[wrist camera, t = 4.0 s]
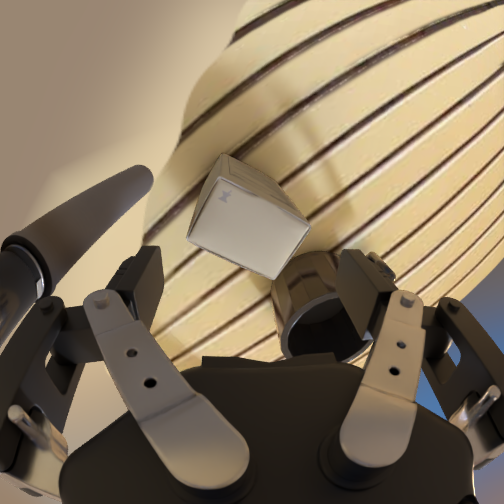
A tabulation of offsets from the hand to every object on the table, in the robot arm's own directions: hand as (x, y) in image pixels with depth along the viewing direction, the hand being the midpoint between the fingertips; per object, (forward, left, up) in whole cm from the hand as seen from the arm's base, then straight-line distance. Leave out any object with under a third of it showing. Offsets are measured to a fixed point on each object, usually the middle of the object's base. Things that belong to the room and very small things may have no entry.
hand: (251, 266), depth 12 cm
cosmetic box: (0, 0, -16) cm, 16 cm away
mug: (+10, -11, -16) cm, 22 cm away
